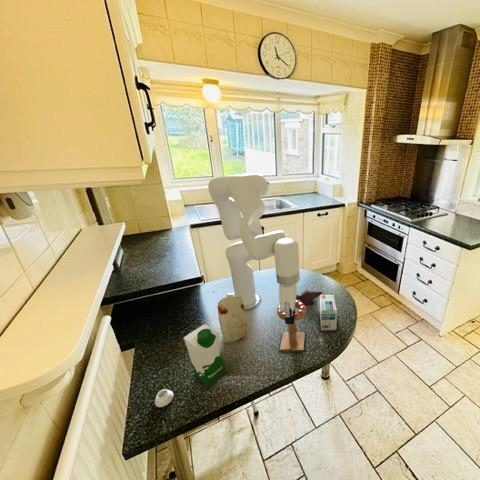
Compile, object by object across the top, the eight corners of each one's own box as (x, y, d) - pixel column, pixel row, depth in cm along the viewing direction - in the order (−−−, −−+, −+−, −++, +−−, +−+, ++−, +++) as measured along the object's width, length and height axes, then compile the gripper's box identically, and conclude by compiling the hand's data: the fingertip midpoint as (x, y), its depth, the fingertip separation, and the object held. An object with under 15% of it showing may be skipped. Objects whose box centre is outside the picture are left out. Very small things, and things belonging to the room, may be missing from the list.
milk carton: (207, 391, 83) (195, 346, 74) (191, 376, 87) (178, 332, 79) (229, 371, 89) (221, 328, 81) (214, 359, 94) (204, 316, 86)
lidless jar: (154, 397, 81) (156, 411, 77) (152, 391, 79) (153, 404, 76) (172, 389, 83) (174, 402, 79) (170, 383, 82) (172, 395, 78)
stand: (279, 352, 97) (278, 330, 92) (283, 334, 105) (281, 313, 101) (303, 352, 97) (303, 330, 92) (305, 334, 105) (304, 313, 101)
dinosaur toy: (318, 283, 128) (290, 293, 122) (324, 288, 121) (294, 298, 116) (320, 296, 129) (292, 306, 124) (326, 301, 122) (297, 312, 117)
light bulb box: (336, 330, 107) (337, 310, 103) (320, 331, 107) (321, 310, 102) (333, 313, 117) (334, 294, 112) (319, 313, 117) (319, 294, 112)
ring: (275, 322, 90) (274, 317, 89) (279, 303, 99) (279, 298, 98) (304, 322, 90) (304, 317, 89) (306, 303, 99) (306, 298, 98)
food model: (224, 349, 98) (216, 307, 90) (222, 337, 104) (214, 297, 95) (250, 340, 102) (244, 300, 94) (246, 329, 108) (241, 290, 99)
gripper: (280, 263, 91) (283, 305, 98) (272, 290, 76) (276, 337, 83) (301, 263, 91) (302, 305, 98) (297, 290, 76) (299, 337, 83)
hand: (290, 319), depth 91 cm, fingers closed on ring, 2 cm apart
